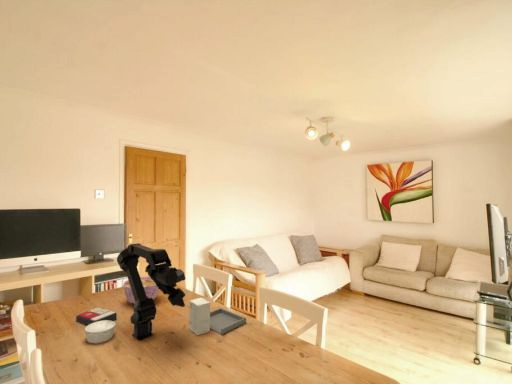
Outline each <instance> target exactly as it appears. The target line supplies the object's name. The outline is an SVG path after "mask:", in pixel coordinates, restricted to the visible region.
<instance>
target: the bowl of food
mask: <svg viewBox="0 0 512 384" xmlns="http://www.w3.org/2000/svg"><path fill="white" fill-rule="evenodd" d="M140 278H141V281H142V284H143V287H144V290H145V293H146V296H147V297H148V298H153V301H154V300H155V299H156V297H157V296H158V294H159V291H160V289H159V288H158V287H157V286H156V284H155V282H154V281H153V280H152V279H151V278H150V276H140ZM122 288H123V291H124V295H125V299H126V300H127V301H128V302H129V303H131V304H134V305H135V299H134V296H133V293H132V290H131V287H130V283H129V280H128V279H127V280H125V281H124V282H123V283H122Z"/></svg>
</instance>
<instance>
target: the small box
mask: <svg viewBox="0 0 512 384" xmlns="http://www.w3.org/2000/svg"><path fill="white" fill-rule="evenodd" d="M210 312H211V302H210V301H208V300H206V299H205V298H203V297H198V298H194V299H190V300H189V316H188V317H189V318H188V319H189V320H188V321H189V322H188V323H189V325H188V330H190V331H192V332H193V333H194V334H195V335H196V336H200V335H203V334H206V333H208V332H210V331H211V329H210Z"/></svg>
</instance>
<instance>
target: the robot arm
mask: <svg viewBox="0 0 512 384" xmlns="http://www.w3.org/2000/svg"><path fill="white" fill-rule="evenodd" d="M140 257H141V258H143V259H145V262H146V264H148V265H147V266H146V267H145V270H144V272H145V273H147V275H148V277H150V278H151V279H152V280H153V281H154V282H155V284H156V286H157V287H158V288H159V291H161V293H163V294H164V295H168V297H167V300H168V301H169V303H170V304H171V305H172V306H173V307H174V306H176V307H181V308H184V307H185V306H186V304H185V301H184V298H185V296H186V294H185V292H184V291H183V290H182V289H181V288H180V287H179V288H178V287H177V286H178V284H179V283H181V282H182V281H185V280H186V275H185V272H184V271H183V270H182V269H181V268H178V269H177V268H176V267H175V266H174V267H172V260H171V259H170V257H169V254H168V252H167V250H166V249H164V248H155V249H154V248H151V247H148V246H145V245H143V244H141V243H132V244H131V243H130V244H128V245H127V247H126V248H124V249H122V250H121V251H120V252H119V254H118V256H117V257H116V262H117V264H118V266H119V268H120V269H121V270H122V271H123V272H125V274H126V277H127V280H129V283H130V287H131V290H132V293H133V296H134V299H135V304H134V306H133V313H132V315H131V316H130V317H129V319H130V323H131V324H132V325H133V333H132V334H131V336H132V337H133V338H135V339H136V340H138V341H141V340H143V339H146V338H149V337H151V336H153V335H154V333H152V332H153V322H152V320H155V318H156V315H157V305H156V304H155V301H154V300H153V298H148V297H147V296H146V293H145V290H144V287H143V284H142V281H141V278H140V277H141V275H140V273H139V269H138V265H139V259H140ZM175 287H177V288H175Z"/></svg>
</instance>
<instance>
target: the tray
mask: <svg viewBox="0 0 512 384" xmlns="http://www.w3.org/2000/svg"><path fill="white" fill-rule="evenodd" d="M245 323H246V324H247V317H244V316H242V315H240V314H237V313H234V312H232V311H230V310H227V309H224V308H222V307H220V308H217V309H214V310H212V311H210V331H213V332H215V333H217V334H219V335H220V336H223V335H225V334H227V333H229V332H232V331H234V330H235V328H236V329H238V328H239V326H240V327H241V325H242V326H243V324H244V325H246V324H245ZM237 327H238V328H237ZM233 329H234V330H233Z"/></svg>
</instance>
